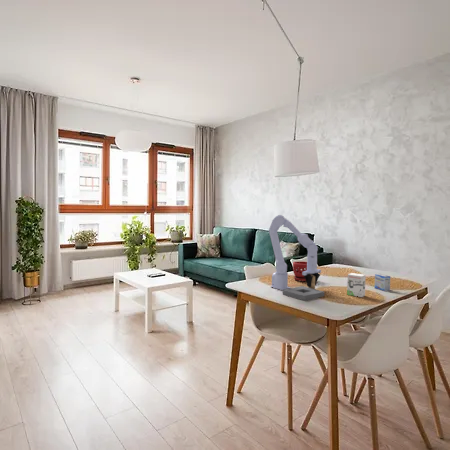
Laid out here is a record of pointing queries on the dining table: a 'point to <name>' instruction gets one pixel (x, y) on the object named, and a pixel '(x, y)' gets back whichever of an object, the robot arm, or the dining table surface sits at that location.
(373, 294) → the dining table surface
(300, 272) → the plant pot
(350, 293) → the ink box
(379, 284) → the medicine box
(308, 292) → the docking block
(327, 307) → the dining table surface
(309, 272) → the robot arm
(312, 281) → the peg
